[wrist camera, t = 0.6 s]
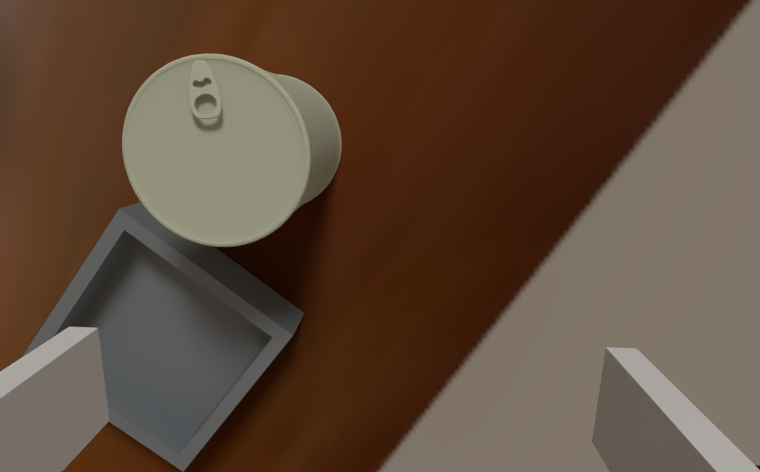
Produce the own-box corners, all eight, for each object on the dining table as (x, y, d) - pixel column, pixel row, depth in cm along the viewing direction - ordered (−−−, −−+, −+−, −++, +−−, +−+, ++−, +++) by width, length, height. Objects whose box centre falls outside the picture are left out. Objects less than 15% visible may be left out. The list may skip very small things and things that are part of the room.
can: (332, 66, 33) (293, 37, 22) (349, 201, 35) (322, 241, 24) (200, 83, 34) (92, 64, 22) (224, 214, 36) (138, 259, 24)
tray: (58, 337, 39) (19, 361, 35) (150, 199, 36) (119, 208, 32) (204, 438, 40) (183, 471, 36) (304, 313, 37) (292, 335, 34)
